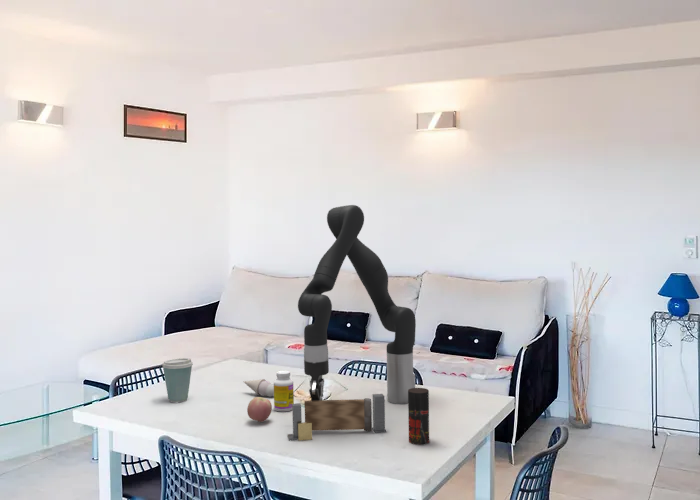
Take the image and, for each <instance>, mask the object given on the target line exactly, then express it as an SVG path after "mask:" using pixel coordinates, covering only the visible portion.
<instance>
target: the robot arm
mask: <svg viewBox="0 0 700 500" xmlns="http://www.w3.org/2000/svg"><path fill="white" fill-rule="evenodd" d="M326 215H327V216H326V222H327V226H328V228H329V230H330V232H331V234H332V236H334V238H335V241H334V242H333V243H332V245H331V246H330V247H329V249H328V250H327V251H326V252H325V253H324V254H323V256H322V257H321V258H320V260H319V262H318V264H317V267H316V269H315V272H314V274H313V277H312V279H311V280H310V282H309V283H308V284H307V286H306V287H305V289H304V290H303V291H302V292H301V294H300V296H299V298H298V302H297V309H298V313H300V315H301V316H303V317H308V318H309V317H312V318H314V319H315V320H314V322H313V323H310V324H307V325H306V326H305V327H304V329H303V335H304V336H303V341H304V345H303V347H304V349H303V365H304V366H303V368H304V370H303V371H304V374H305V375H306V376H310V377H311V379H310V380H309V387H310V388H309V390H308V391H309V396H310V401H311V400H323V396H324V388H325V387H324V386H325V378H323V376H325V375H328V373H329V372H330V371H329V365H330V364H329V363H330V361H329V348H328V327H329V324H330V318H331V314H332V311H333V310H332V308H333V305H332V304H333V303H332V301H331V299H330V297H329V296H328V295H325V294H324V293H327V292H331V291H332V290H333V288H334V287H335V285H336V284H335V283H337V279H338V276H339V274H340V270H341V268H342V265H343V264H344V262H345V259H346V257H347V258H348V259H349V261H350V263H351V265H352V266H353V268H354V270H355V272H356V274H357V276H358V278H359V279H360V281H361V284H362V285H363V286H364V289H365V290H366V292H367V294H368V296H369V298H370V300H371V302H372V304H373V306H374V308H375V311H376V313H377V315H378V318H379V321H380V323H381V325H382V326H383V327H384V329H385V330H387V331H388V332H390V333H394V340H393V341H391V342H388V343H387V344H386V387H387V389H386V390H387V391H386V397H387V398H386V399H387V402H388V403H390V404H391V403H393V404H397V405H398V404H399V405H402V404H408V390H409V389H411V388H416V374H415V373H414V346H415V343H416V322H417V321H416V315H415V312H414V310H413V309H411V308H410V307H405V306H399V305H396V303H395V301H394V300H393V299H392V297H391V295H390V293H389V276H388V271H387V269H386V268H385V265H384V264H383V262H382V260H381V259H380V257H379V255H377V253H375V252H374V251H373V250H372V249H370V248H369V247H368V246H367V245H365V243H363V242H362V241H361V240H360V239H359V238H358V237H359V234H360V232H361V230H362V229H363V227H364V223H365V214H364V210H362V208H361V207H359V205H355V204H350V205H342V206H336V207H333V208H330V209H329V210H328V212H327V213H326Z"/></svg>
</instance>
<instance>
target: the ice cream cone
mask: <svg viewBox="0 0 700 500" xmlns="http://www.w3.org/2000/svg"><path fill="white" fill-rule="evenodd" d="M243 383H244V384H245V385H246V386H248V388H250V389H251V390H252V391H253V392H254V393H255V394H256V395H257V396H258V397H269V398H274V383H272V382H270V381H268V380H266V379H264V378H262V379H253V380H244V381H243Z"/></svg>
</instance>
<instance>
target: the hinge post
mask: <svg viewBox="0 0 700 500" xmlns="http://www.w3.org/2000/svg"><path fill="white" fill-rule="evenodd" d="M385 397H386V396H385V395H384V394H383V393H375V394H374V393H373V394H372V432H373V433H374V434H383V433H387V429H386V416H385V415H386V411H385V410H386V406H385V405H386V404H385V403H386V402H385V401H386V400H385Z"/></svg>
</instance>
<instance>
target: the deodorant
mask: <svg viewBox="0 0 700 500" xmlns="http://www.w3.org/2000/svg"><path fill="white" fill-rule="evenodd" d="M429 392H430V391H429V389H427V388H425V387H424V388H423V387H415V388H411V389H409V390H408V403H407V404H408V405H407V407H408V408H407V409H408V410H407V411H408V414H407V415H408V421H407V422H408V443H409V444H411V445H415V446H424V445H427V444H429V443H430V401H429V399H430V397H429V396H430V394H429Z"/></svg>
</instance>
